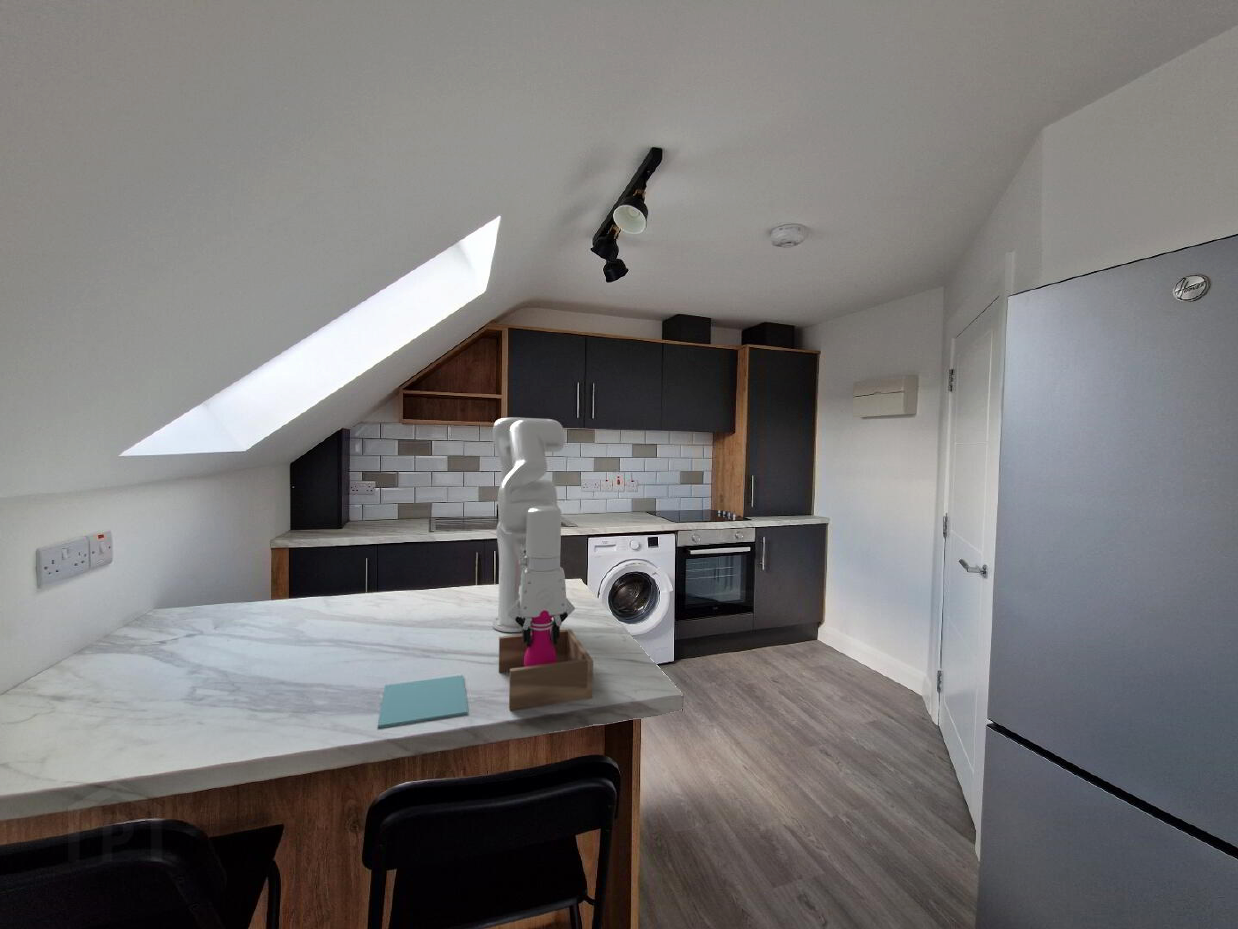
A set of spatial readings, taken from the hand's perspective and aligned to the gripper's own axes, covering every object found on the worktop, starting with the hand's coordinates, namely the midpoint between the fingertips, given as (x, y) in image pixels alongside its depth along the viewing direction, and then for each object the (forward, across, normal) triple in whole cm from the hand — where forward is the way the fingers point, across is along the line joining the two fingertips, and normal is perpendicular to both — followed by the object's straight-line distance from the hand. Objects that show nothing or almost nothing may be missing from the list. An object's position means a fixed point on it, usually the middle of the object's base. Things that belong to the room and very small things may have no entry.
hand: (540, 642), depth 112 cm
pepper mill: (+9, 0, 0) cm, 9 cm away
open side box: (+9, 0, -1) cm, 9 cm away
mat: (+9, -24, -1) cm, 26 cm away
